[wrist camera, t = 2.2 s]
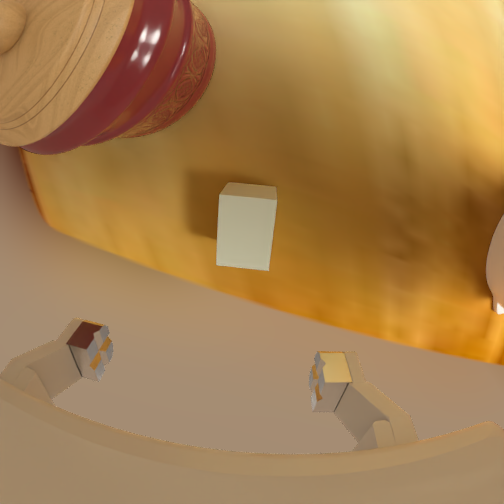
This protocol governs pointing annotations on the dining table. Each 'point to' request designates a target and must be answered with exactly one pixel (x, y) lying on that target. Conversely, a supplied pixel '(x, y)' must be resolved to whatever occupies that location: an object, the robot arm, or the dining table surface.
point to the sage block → (246, 225)
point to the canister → (98, 69)
